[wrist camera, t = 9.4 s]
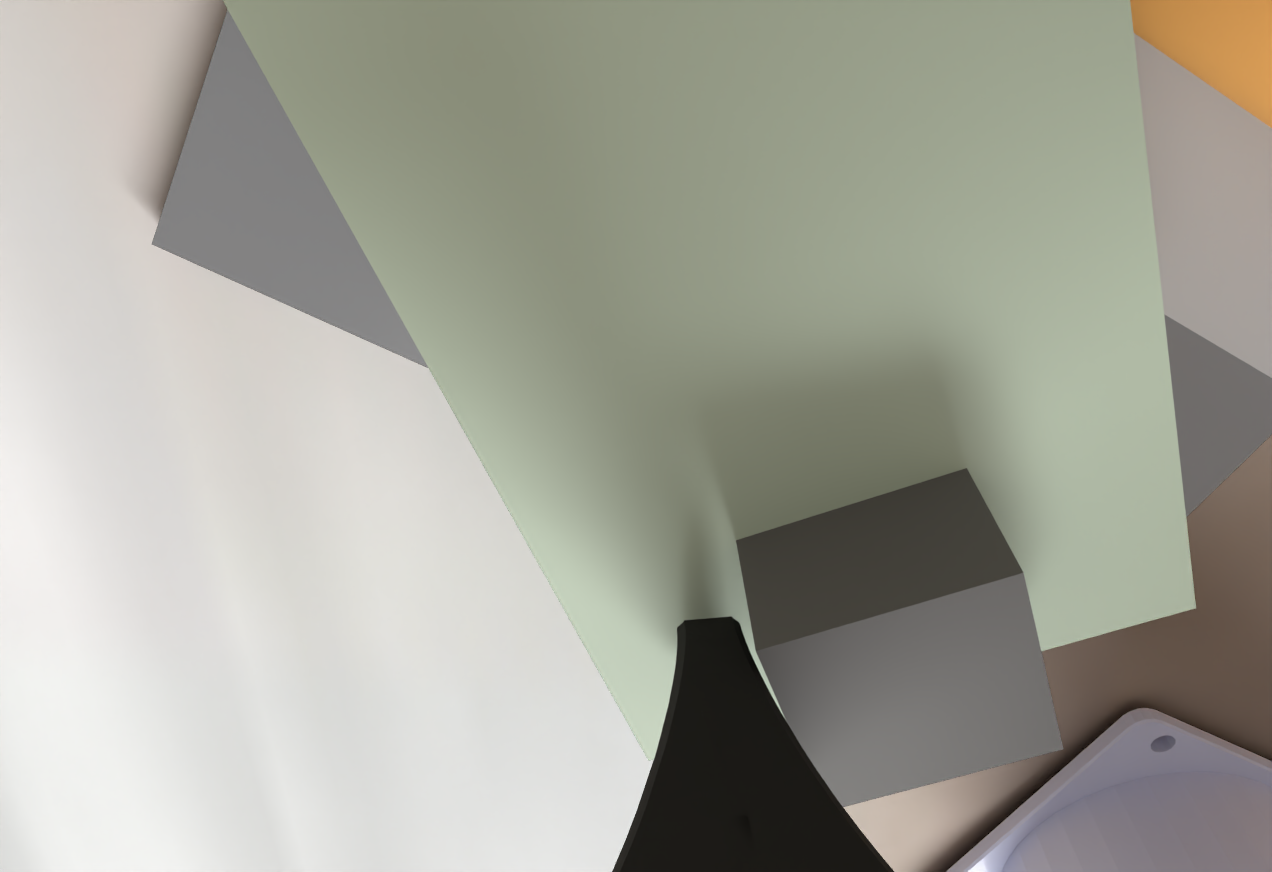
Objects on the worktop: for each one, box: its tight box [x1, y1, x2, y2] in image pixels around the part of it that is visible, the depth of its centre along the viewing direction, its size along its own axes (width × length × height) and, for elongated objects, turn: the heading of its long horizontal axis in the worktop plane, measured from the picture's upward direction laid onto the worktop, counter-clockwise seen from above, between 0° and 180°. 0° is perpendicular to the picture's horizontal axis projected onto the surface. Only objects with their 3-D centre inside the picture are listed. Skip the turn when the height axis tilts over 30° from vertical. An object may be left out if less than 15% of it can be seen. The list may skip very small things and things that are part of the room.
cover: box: [223, 0, 1196, 807], centre depth 10 cm, size 16×8×3 cm, turn 21°
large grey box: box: [152, 10, 1272, 517], centre depth 13 cm, size 18×15×4 cm
